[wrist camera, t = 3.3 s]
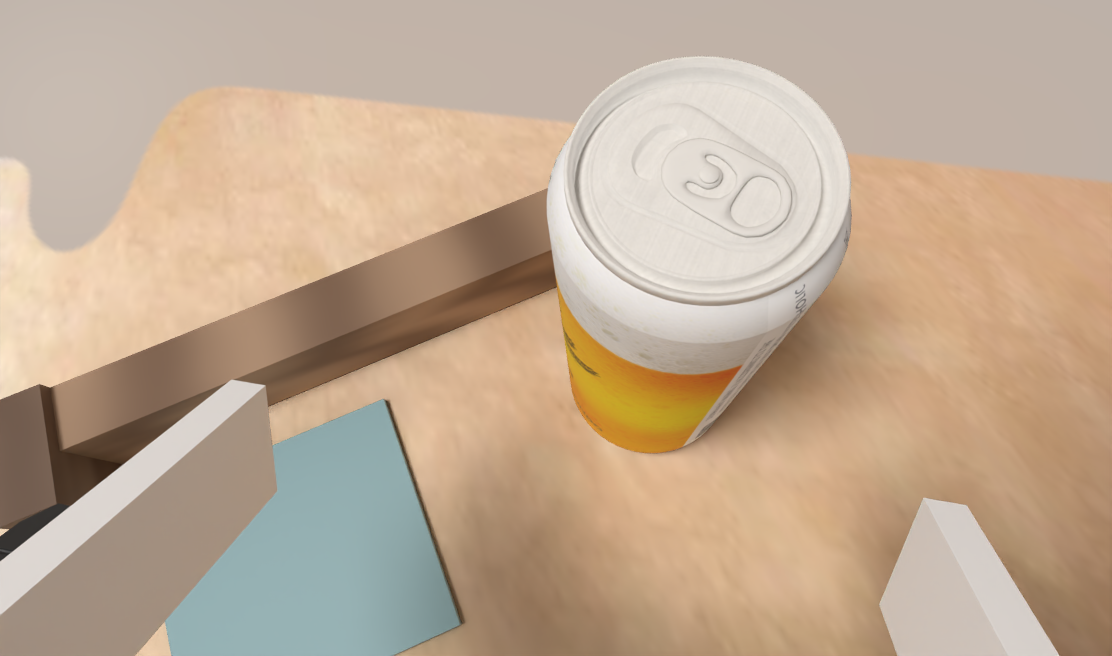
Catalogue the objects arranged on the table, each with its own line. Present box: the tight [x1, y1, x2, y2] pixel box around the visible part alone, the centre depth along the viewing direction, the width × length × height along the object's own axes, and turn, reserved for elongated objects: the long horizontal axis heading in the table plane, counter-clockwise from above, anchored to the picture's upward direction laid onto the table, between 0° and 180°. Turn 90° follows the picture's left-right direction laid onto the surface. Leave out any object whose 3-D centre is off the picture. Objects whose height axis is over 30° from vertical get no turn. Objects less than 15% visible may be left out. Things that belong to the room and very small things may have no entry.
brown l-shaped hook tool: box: [0, 188, 557, 529], centre depth 25 cm, size 24×4×4 cm, turn 113°
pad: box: [165, 399, 462, 656], centre depth 25 cm, size 10×9×1 cm
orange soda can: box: [547, 56, 852, 453], centre depth 19 cm, size 6×6×15 cm
